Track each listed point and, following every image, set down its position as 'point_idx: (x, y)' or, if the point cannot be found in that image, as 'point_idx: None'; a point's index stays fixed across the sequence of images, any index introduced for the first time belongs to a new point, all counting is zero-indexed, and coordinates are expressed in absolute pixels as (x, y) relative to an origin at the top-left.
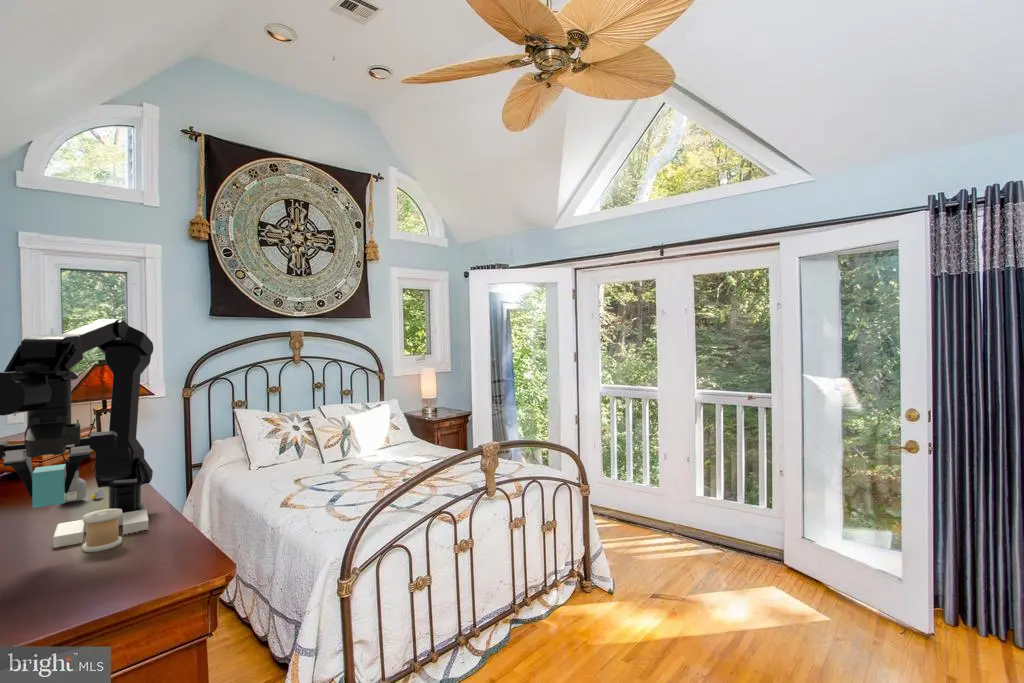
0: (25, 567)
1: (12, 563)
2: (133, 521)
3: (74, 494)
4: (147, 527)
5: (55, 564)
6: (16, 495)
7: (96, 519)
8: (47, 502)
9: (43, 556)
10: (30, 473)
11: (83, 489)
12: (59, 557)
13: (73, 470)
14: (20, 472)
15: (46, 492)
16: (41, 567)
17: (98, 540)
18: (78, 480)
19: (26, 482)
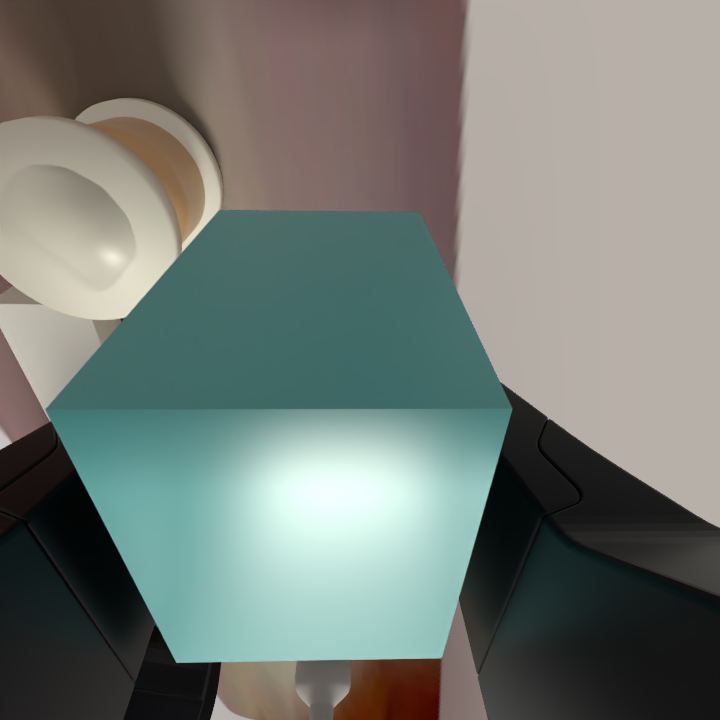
0: (408, 84)
1: (448, 191)
2: (55, 326)
3: None
4: (12, 287)
5: (297, 21)
6: (428, 696)
7: (69, 123)
8: (324, 219)
9: (354, 203)
10: (506, 496)
11: (300, 661)
12: (295, 137)
13: (15, 457)
14: (647, 505)
15: (327, 251)
16: (349, 20)
17: (129, 123)
18: (309, 695)
19: (511, 405)
